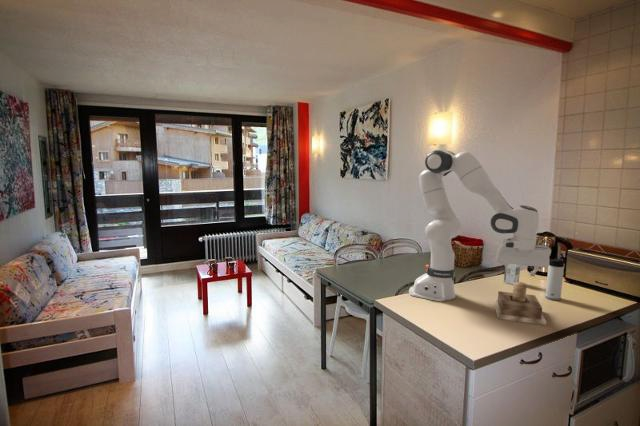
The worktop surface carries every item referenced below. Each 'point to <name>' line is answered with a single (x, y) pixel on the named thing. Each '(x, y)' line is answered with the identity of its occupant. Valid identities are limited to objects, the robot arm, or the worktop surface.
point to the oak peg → (519, 292)
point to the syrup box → (512, 274)
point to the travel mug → (554, 279)
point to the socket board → (519, 309)
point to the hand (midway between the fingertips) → (520, 274)
